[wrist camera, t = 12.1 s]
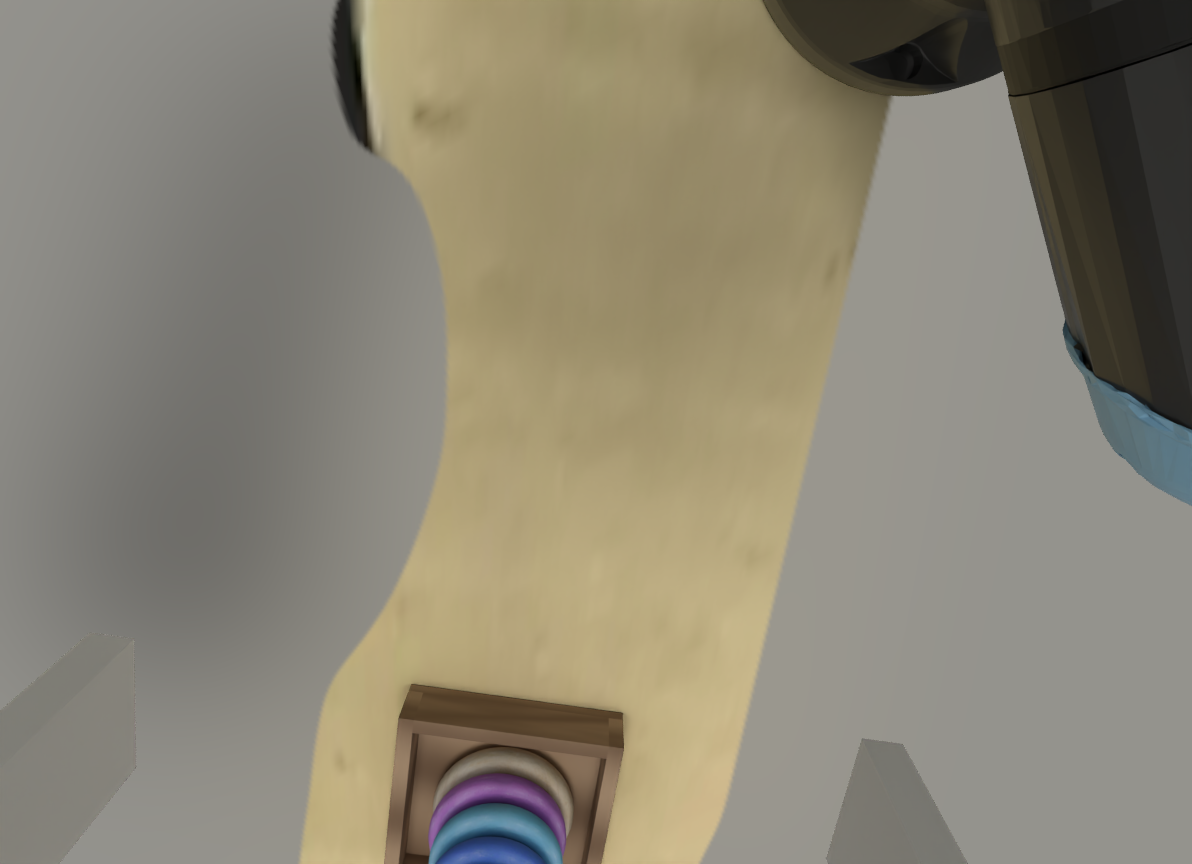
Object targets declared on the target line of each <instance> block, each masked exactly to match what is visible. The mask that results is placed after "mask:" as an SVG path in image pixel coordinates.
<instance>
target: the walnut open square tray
mask: <svg viewBox="0 0 1192 864" xmlns="http://www.w3.org/2000/svg"><path fill="white" fill-rule="evenodd" d="M496 747H511V748H518V749H522V750H525V751H529V752H531V753H534V754H536V755H538V756H540V757H542V758H543V759H545V760H547V761H548V762H549V763H550V764H552V765H553V766H554V767H555V768H556V769H557V770H558V771H559V772H560V774H561V775H562V776H563V778H564V779H565V781H566V783H567V785H568V787H569V789H570V792H571V795H572V799H573V806H574V813H573V821H572V826H571V829H570V832H569V834H568V836H567V838H566V846H565V851H564V855H563V864H601V862H602V857H603V852H604V847H605V842H606V837H607V832H608V827H609V822H610V817H611V812H612V806H613V801H614V796H615V791H616V786H617V781H618V776H619V771H620V766H621V761H622V756H623V751H624V739H623V714H622V713H617V712H610V711H603V710H595V709H588V708H581V707H573V706H566V705H559V704H552V703H544V702H537V701H530V700H522V699H515V698H508V697H500V696H493V695H486V694H478V693H471V692H464V691H456V690H449V689H442V688H435V687H427V686H420V685H413V684H411V687H410V689H409V692H408V695H407V697H406V700H405V702H404V705H403V708H402V710H401V713H400V716H399V718H398V728H397V739H396V749H395V759H394V769H393V779H392V789H391V800H390V810H389V820H388V830H387V840H386V851H385V861H384V864H429V855H430V848H429V841H428V832H429V826H430V821H431V818H432V815H433V802H434V796H435V792H436V789H437V787H438V785H439V782H440V781H441V779H442V778H443V776H444V775H445V773H446V772H447V771H448V770H449V769H450V768H451V767H452V766H453V765H454V764H455V763H457V762H458V761H459V760H461V759H462V758H464V757H466V756H468V755H470V754H472V753H475V752H477V751H480V750H484V749H488V748H496Z"/></svg>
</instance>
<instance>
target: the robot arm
mask: <svg viewBox="0 0 1192 864" xmlns="http://www.w3.org/2000/svg"><path fill="white" fill-rule="evenodd" d="M763 1H764V3H765V5H766V8H767V9H768V11H769V13H770V15H771V17H772V18H773V20H774V22H775V23H776V25H777V26H778V28H779V29H780V31H781V32H782V33H783V35H784V36H785V37H786V38H787V40H788V41H789V42H790V43H791V44H792V45H793V47H794V48H795V49H796V50H797V51H798V52H799V53H800V54H801V55H802V56H803V57H804V58H806V59H807V60H808V61H809V62H810V63H812V64H813V65H814V66H815V67H817V68H818V69H820V70H821V71H823V72H824V73H826V74H827V75H829V76H831V77H833V78H834V79H836V80H838V81H840V82H843V83H845V84H847V85H849V86H852V87H855V88H858V89H861V90H864V91H868V92H872V93H877V94H883V95H892V96H919V95H928V94H934V93H939V92H943V91H948V90H951V89H955V88H959V87H962V86H965V85H969V84H972V83H975V82H978V81H981V80H984V79H986V78H989V77H991V76H994V75H996V74H998V73H1000V72H1002V71H1003V72H1004V76H1005V80H1006V83H1007V87H1008V93H1009V95H1008V97H1009V101H1010V105H1011V109H1012V113H1013V117H1014V121H1015V124H1016V128H1017V132H1018V136H1019V140H1020V144H1021V148H1022V152H1023V156H1024V159H1025V163H1026V167H1027V171H1028V175H1029V179H1030V183H1031V187H1032V191H1033V194H1034V198H1035V202H1036V206H1037V210H1038V214H1039V218H1040V222H1041V226H1042V230H1043V234H1044V237H1045V241H1046V245H1047V249H1048V253H1049V257H1050V261H1051V265H1052V269H1053V272H1054V276H1055V280H1056V284H1057V288H1058V292H1059V296H1060V300H1061V304H1062V307H1063V311H1064V315H1065V323H1064V327H1063V335H1064V339H1065V343H1066V348H1067V350H1068V352H1069V354H1070V357H1071V359H1072V361H1073V362H1074V364H1075V365H1076V366H1077V368H1078V369H1079V370H1080V371H1081V373H1082V374H1083V376H1084V378H1085V381H1086V384H1087V387H1088V390H1089V393H1090V396H1091V400H1092V403H1093V406H1094V409H1095V412H1096V415H1097V418H1098V422H1099V424H1100V427H1101V429H1102V432H1103V434H1104V436H1105V437H1106V439H1107V441H1108V442H1109V443H1110V445H1111V447H1112V448H1113V449H1114V451H1115V452H1116V453H1117V454H1118V455H1119V456H1121V457H1122V458H1124V459H1126V461H1127V462H1128V463H1129V464H1130V465H1131V466H1132V467H1133V468H1134V470H1135V471H1136V472H1137V473H1138V474H1139V475H1141V476H1142V477H1144V478H1145V479H1146V480H1147V481H1148V482H1149V483H1151V484H1152V485H1154V486H1155V487H1157V488H1158V489H1160V490H1162V491H1164V492H1166V493H1167V494H1169V495H1171V496H1173V497H1175V498H1177V499H1179V500H1181V501H1182V502H1185V503H1187V504H1189V505H1191V506H1192V0H763ZM134 671H135V664H134V639H133V638H126V637H119V636H112V635H104V634H97V633H89V634H88V635H87V636H86V637H84V638H83V639H82V640H81V641H80V642H79V643H77V644H76V645H75V646H74V647H73V648H72V649H71V650H70V651H68V652H67V653H66V654H65V655H64V656H63V657H62V658H60V659H59V660H58V661H57V662H56V663H54V664H53V665H52V666H51V667H50V668H49V669H48V670H46V671H45V672H44V673H43V674H42V675H41V676H40V677H38V678H37V679H36V680H35V681H34V682H33V683H31V684H30V685H29V686H28V687H27V688H26V689H25V690H24V691H22V692H21V693H20V694H19V695H18V696H17V697H15V698H14V699H13V700H12V701H11V702H10V703H9V704H7V705H6V706H5V707H4V708H3V709H2V710H0V864H59V863H60V862H61V861H62V859H63V858H64V857H65V856H66V854H67V853H68V852H69V851H70V849H71V848H72V847H73V846H74V844H75V843H76V842H77V841H78V840H79V838H80V837H81V836H82V835H83V833H84V832H85V831H86V830H87V828H88V827H89V826H90V825H91V823H92V822H93V821H94V819H95V818H96V817H97V816H98V815H99V813H100V812H101V811H102V810H103V808H104V807H105V806H106V805H107V803H108V802H109V801H110V799H111V798H112V797H113V796H114V795H115V793H116V792H117V791H118V790H119V788H120V787H121V786H122V785H123V783H124V782H125V781H126V780H127V778H128V777H129V776H130V775H131V773H132V772H133V771H134V769H135V768H136V741H135V740H136V736H135V672H134ZM826 859H827V862H828V864H968V863H967V861H966V859H965V858H964V856H963V854H962V852H961V850H960V848H959V846H958V845H957V843H956V841H955V839H954V837H953V836H952V834H951V832H950V830H949V828H948V826H947V824H946V823H945V821H944V819H943V817H942V815H941V814H940V811H939V810H938V808H937V806H936V804H935V802H934V800H933V799H932V797H931V795H930V793H929V791H928V789H927V788H926V786H925V784H924V782H923V781H922V778H921V776H920V775H919V773H918V771H917V769H916V767H915V765H914V764H913V762H912V760H911V758H910V756H909V754H908V753H907V751H906V749H905V747H904V745H903V744H899V743H892V742H884V741H877V740H869V739H862V740H861V743H860V747H859V750H858V754H857V757H856V760H855V764H854V767H853V770H852V774H851V777H850V780H849V784H848V787H847V790H846V794H845V797H844V800H843V804H842V807H841V811H840V814H839V818H838V821H837V824H836V827H835V830H834V834H833V837H832V841H831V844H830V848H829V851H828V854H827V857H826Z"/></svg>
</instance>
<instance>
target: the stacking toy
mask: <svg viewBox="0 0 1192 864" xmlns="http://www.w3.org/2000/svg"><path fill="white" fill-rule="evenodd" d="M573 813H574V806H573V799H572V795H571V792H570V789H569V787H568V785H567V783H566V781H565V779H564V778H563V776H562V775H561V774H560V772H559V771H558V770H557V769H556V768H555V767H554V766H553V765H552V764H550V763H549V762H548V761H547V760H545V759H543V758H542V757H540V756H538V755H536V754H534V753H531V752H529V751H525V750H522V749H518V748H511V747H496V748H488V749H484V750H480V751H477V752H475V753H472V754H470V755H468V756H466V757H464V758H462V759H461V760H459V761H458V762H457V763H455V764H454V765H453V766H452V767H451V768H450V769H449V770H448V771H447V772H446V773H445V775H444V776H443V778H442V779H441V781H440V782H439V785H438V787H437V789H436V792H435V796H434V802H433V815H432V818H431V821H430V826H429V832H428V841H429V848H430V855H429V864H563V855H564V851H565V846H566V838H567V836H568V834H569V832H570V829H571V826H572V821H573Z"/></svg>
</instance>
